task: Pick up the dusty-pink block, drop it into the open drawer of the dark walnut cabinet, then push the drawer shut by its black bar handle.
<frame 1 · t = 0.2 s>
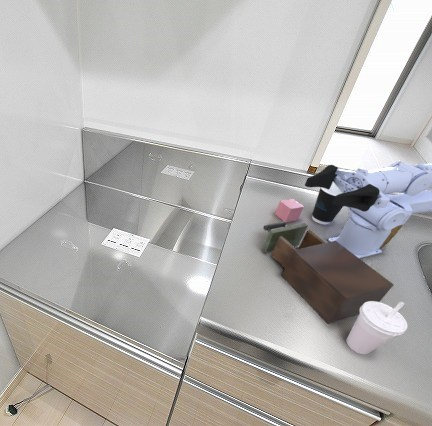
hand: (320, 190, 63), 21 cm above the worktop, tool horizontal, fingers open, 7 cm apart
dixie cup: (320, 220, 88), on the worktop
block: (286, 217, 89), on the worktop
smoothie: (357, 345, 57), on the worktop
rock: (372, 236, 82), on the worktop, touching arm
drawer: (295, 247, 73), point 4 cm above the worktop, slide at 7.0 cm
cabinet: (323, 292, 67), on the worktop
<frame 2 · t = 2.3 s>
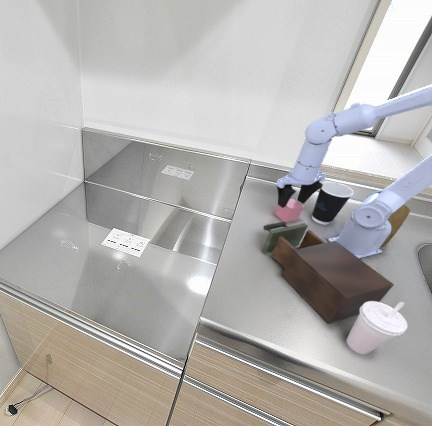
hand: (290, 203, 87), 5 cm above the worktop, tool pointing down, fingers open, 6 cm apart
dixie cup: (320, 220, 88), on the worktop, touching gripper
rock: (373, 236, 82), on the worktop
everything else where it was.
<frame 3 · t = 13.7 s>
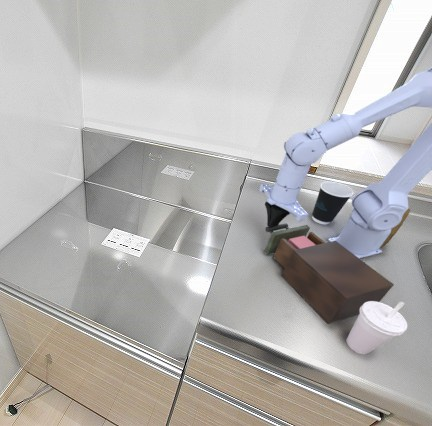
hand: (271, 226, 79), 4 cm above the worktop, tool pointing down, fingers closed
dixie cup: (320, 220, 88), on the worktop
block: (296, 257, 73), point 2 cm above the worktop, touching drawer
drawer: (297, 249, 72), point 4 cm above the worktop, slide at 6.3 cm, touching block, gripper
everything else where it was.
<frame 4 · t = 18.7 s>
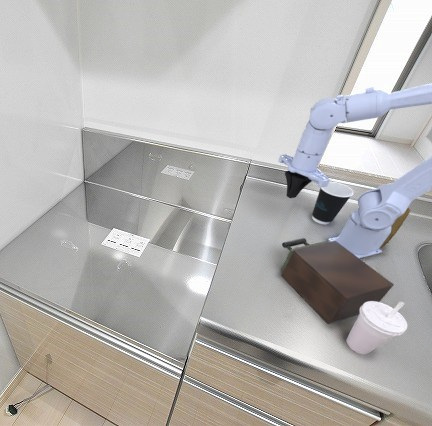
hand: (291, 196, 80), 10 cm above the worktop, tool pointing down, fingers closed
block: (316, 276, 68), point 2 cm above the worktop, touching drawer
drawer: (317, 267, 67), point 4 cm above the worktop, slide at 0.0 cm, touching block, cabinet
everything else where it was.
at the end: block inside the target area in the cabinet (3.1 cm from its centre), point 2.0 cm above the cabinet's base; drawer slide at 0.0 cm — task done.
